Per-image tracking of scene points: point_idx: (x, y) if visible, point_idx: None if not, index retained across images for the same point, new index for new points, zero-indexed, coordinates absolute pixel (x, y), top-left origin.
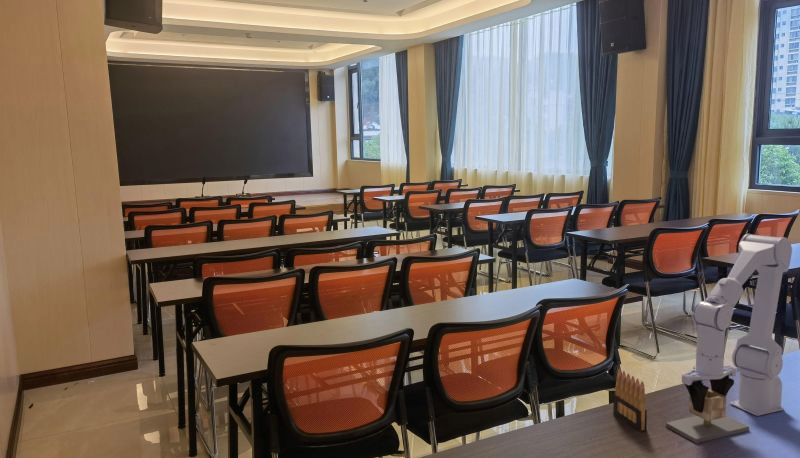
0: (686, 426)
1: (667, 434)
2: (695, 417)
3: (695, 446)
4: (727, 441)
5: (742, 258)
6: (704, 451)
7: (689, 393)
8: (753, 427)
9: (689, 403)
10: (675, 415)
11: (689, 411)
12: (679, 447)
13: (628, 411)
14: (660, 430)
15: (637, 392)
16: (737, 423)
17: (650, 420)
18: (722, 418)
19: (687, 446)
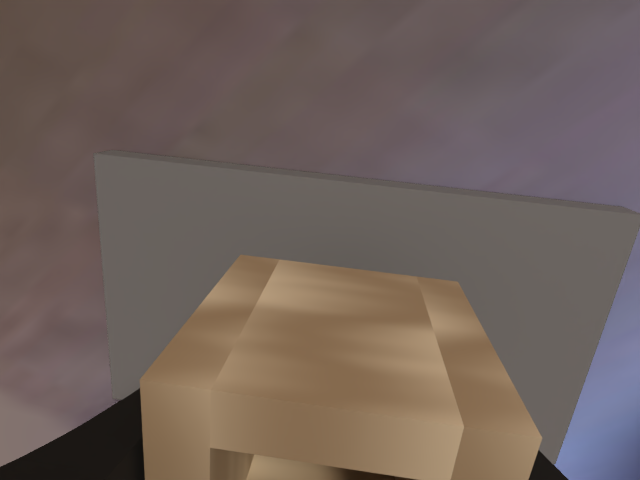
0: (185, 269)
1: (49, 233)
2: (371, 205)
3: (101, 396)
4: None
5: None
6: None
7: (36, 455)
8: (616, 433)
9: (210, 293)
10: (329, 39)
11: (238, 261)
12: (14, 363)
13: None
14: (42, 171)
15: None
16: (537, 409)
17: (75, 8)
18: (533, 316)
19: (61, 376)
